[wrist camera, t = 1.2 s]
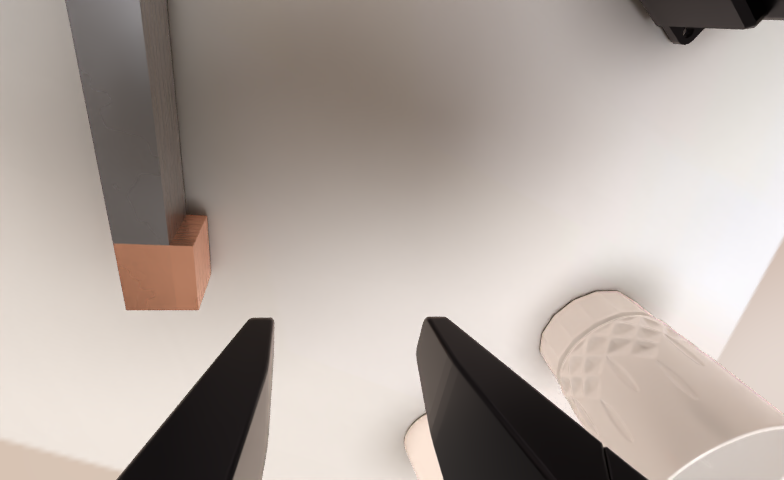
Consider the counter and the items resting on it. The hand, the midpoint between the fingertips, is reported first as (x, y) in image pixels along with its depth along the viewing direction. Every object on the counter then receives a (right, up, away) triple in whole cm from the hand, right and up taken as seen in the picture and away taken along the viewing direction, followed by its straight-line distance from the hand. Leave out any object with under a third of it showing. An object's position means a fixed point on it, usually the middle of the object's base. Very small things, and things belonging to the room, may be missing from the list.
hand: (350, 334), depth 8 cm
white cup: (+13, -4, +19) cm, 23 cm away
